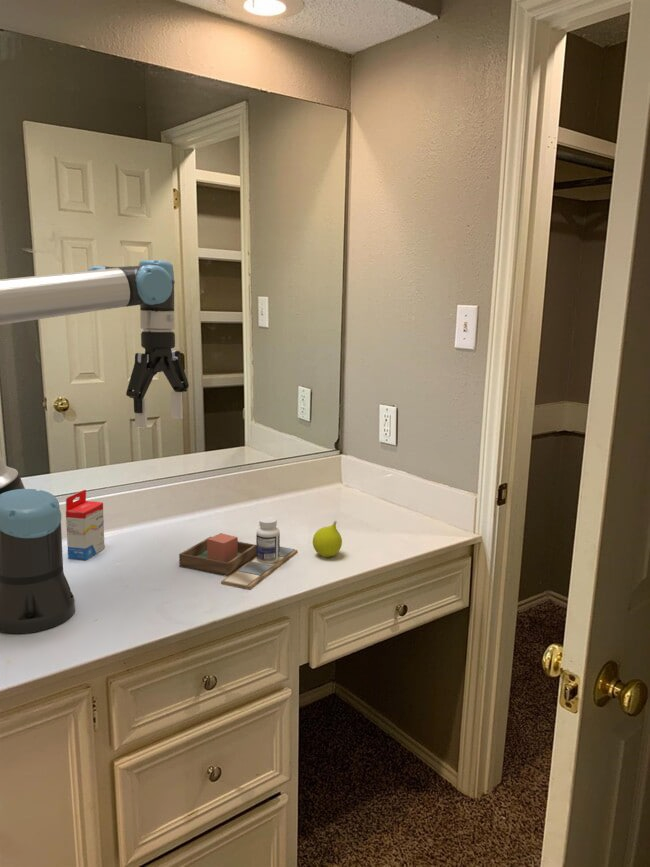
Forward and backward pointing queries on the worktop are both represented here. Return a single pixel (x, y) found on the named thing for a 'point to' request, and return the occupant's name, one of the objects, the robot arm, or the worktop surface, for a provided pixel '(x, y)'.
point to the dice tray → (199, 560)
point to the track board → (256, 570)
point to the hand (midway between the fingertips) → (160, 422)
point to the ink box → (84, 527)
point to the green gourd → (327, 541)
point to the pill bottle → (268, 541)
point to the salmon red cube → (222, 547)
